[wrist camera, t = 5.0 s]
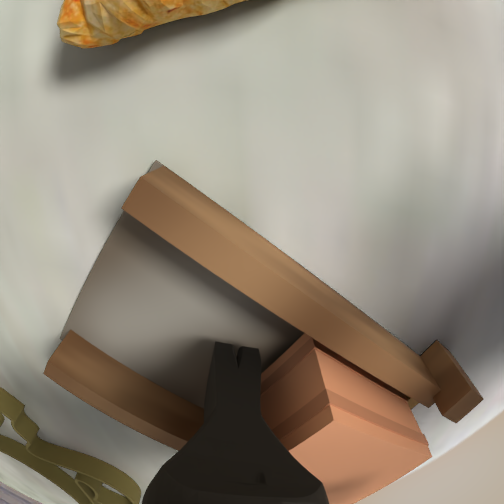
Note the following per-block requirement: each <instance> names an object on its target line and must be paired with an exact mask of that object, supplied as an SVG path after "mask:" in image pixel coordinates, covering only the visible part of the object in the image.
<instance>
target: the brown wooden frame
mask: <svg viewBox="0 0 504 504" xmlns="http://www.w3.org/2000/svg"><path fill="white" fill-rule="evenodd" d="M122 209H123V210H124V212H123V213H122V215H121V217H120V219H119V220H118V222H117V224H116V226H115V227H114V229H113V231H112V233H111V234H110V236H109V238H108V240H107V242H106V243H105V245H104V247H103V249H102V251H101V253H100V255H99V257H98V258H97V260H96V262H95V264H94V266H93V268H92V270H91V272H90V274H89V276H88V278H87V280H86V282H85V284H84V286H83V288H82V290H81V292H80V294H79V296H78V299H77V301H76V303H75V305H74V307H73V309H72V312H71V314H70V316H69V318H68V320H67V323H66V325H65V327H64V330H63V332H62V334H61V337H60V339H61V340H62V342H61V343H60V345H59V346H58V348H57V349H56V350H55V352H54V353H53V355H52V356H51V357H50V359H49V360H48V362H47V365H46V368H45V371H44V373H43V374H44V375H46V376H47V377H49V378H50V379H51V380H53V381H54V382H56V383H57V384H59V385H60V386H62V387H63V388H64V389H66V390H67V391H69V392H70V393H72V394H74V395H75V396H77V397H78V398H80V399H81V400H83V401H85V402H86V403H88V404H89V405H91V406H93V407H94V408H96V409H98V410H99V411H101V412H103V413H105V414H106V415H108V416H110V417H112V418H113V419H115V420H117V421H119V422H121V423H122V424H124V425H126V426H128V427H130V428H132V429H134V430H136V431H138V432H140V433H142V434H144V435H146V436H148V437H150V438H152V439H154V440H156V441H158V442H160V443H162V444H165V445H167V446H169V447H171V448H173V449H176V450H178V451H179V450H180V449H181V448H182V447H183V446H184V445H185V444H186V443H187V442H188V441H189V440H190V439H191V438H192V437H193V436H194V435H195V433H196V432H197V431H198V430H199V429H200V427H201V426H202V425H203V424H204V400H205V393H206V387H207V380H208V375H209V370H210V365H211V360H212V355H213V350H214V345H215V341H217V342H223V343H228V344H232V345H233V346H234V350H235V355H236V357H237V353H238V349H239V348H240V347H242V346H245V347H252V348H258V349H259V352H260V357H261V374H262V373H263V372H264V371H265V370H266V369H267V368H268V367H269V366H270V365H272V364H273V363H274V362H275V361H276V360H277V359H278V358H279V357H280V356H281V355H282V354H283V353H284V352H286V351H287V350H288V349H289V348H290V347H291V346H292V345H293V344H294V343H295V342H296V341H297V340H298V339H299V338H300V337H301V336H302V335H303V334H304V333H305V334H307V335H309V336H310V337H312V338H313V339H315V340H316V341H318V342H320V343H321V344H323V345H324V346H326V347H328V348H329V349H331V350H332V351H334V352H336V353H337V354H339V355H340V356H342V357H344V358H345V359H347V360H349V361H350V362H352V363H354V364H355V365H357V366H358V367H360V368H362V369H363V370H365V371H367V372H368V373H370V374H372V375H373V376H375V377H377V378H378V379H380V380H382V381H383V382H385V383H387V384H388V385H390V386H392V387H393V388H395V389H397V390H398V391H400V392H402V393H404V394H405V396H406V398H407V400H408V405H409V407H410V409H412V408H413V407H415V406H416V405H417V404H418V403H421V404H423V405H424V406H426V407H428V408H429V407H430V406H432V405H433V404H434V403H436V405H437V407H438V409H439V411H440V412H441V414H442V416H444V417H446V418H448V419H449V420H451V421H453V422H455V423H457V422H458V421H460V420H461V419H462V418H463V417H464V416H465V415H467V414H468V413H469V412H470V411H471V410H472V409H473V408H475V407H476V406H477V405H478V404H479V403H480V402H481V401H482V400H483V398H482V396H481V395H480V393H479V392H478V390H477V389H476V387H475V386H474V384H473V383H472V382H471V380H470V379H469V377H468V376H467V374H466V373H465V372H464V370H463V369H462V367H461V366H460V365H459V363H458V362H457V361H456V359H455V358H454V356H453V355H452V354H451V352H449V351H448V350H447V349H446V348H445V347H444V346H443V345H442V344H441V343H440V342H439V341H437V340H436V341H435V342H434V343H433V344H432V345H431V346H430V347H429V348H428V349H427V350H426V351H425V352H424V353H423V354H422V355H421V356H419V355H418V354H417V353H415V352H414V351H413V350H412V349H410V348H409V347H408V346H406V345H405V344H404V343H403V342H401V341H400V340H399V339H397V338H396V337H395V336H394V335H392V334H391V333H390V332H388V331H387V330H386V329H384V328H383V327H382V326H381V325H379V324H378V323H377V322H375V321H374V320H373V319H371V318H370V317H369V316H367V315H366V314H365V313H364V312H362V311H361V310H360V309H358V308H357V307H356V306H354V305H353V304H352V303H350V302H349V301H348V300H346V299H345V298H344V297H342V296H341V295H340V294H339V293H337V292H336V291H335V290H333V289H332V288H331V287H329V286H328V285H327V284H325V283H324V282H323V281H321V280H320V279H319V278H317V277H316V276H315V275H313V274H312V273H311V272H309V271H308V270H307V269H305V268H304V267H303V266H301V265H300V264H299V263H297V262H296V261H295V260H293V259H292V258H290V257H289V256H288V255H286V254H285V253H284V252H282V251H281V250H280V249H278V248H277V247H276V246H274V245H273V244H272V243H270V242H269V241H268V240H266V239H265V238H263V237H262V236H261V235H259V234H258V233H257V232H255V231H254V230H253V229H251V228H250V227H248V226H247V225H246V224H244V223H243V222H242V221H240V220H239V219H238V218H236V217H235V216H233V215H232V214H231V213H229V212H228V211H227V210H225V209H224V208H222V207H221V206H220V205H218V204H217V203H215V202H214V201H213V200H211V199H210V198H209V197H207V196H206V195H204V194H203V193H202V192H200V191H199V190H197V189H196V188H195V187H193V186H192V185H191V184H189V183H188V182H186V181H185V180H184V179H182V178H181V177H179V176H178V175H177V174H175V173H174V172H172V171H171V170H170V169H168V168H167V167H165V166H164V165H163V164H161V163H160V162H158V161H157V160H156V161H155V162H154V164H153V165H152V167H151V168H150V170H149V171H148V173H147V174H145V175H143V176H141V177H140V178H139V180H138V182H137V183H136V185H135V186H134V188H133V190H132V191H131V193H130V194H129V196H128V198H127V199H126V201H125V203H124V205H123V206H122Z"/></svg>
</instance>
